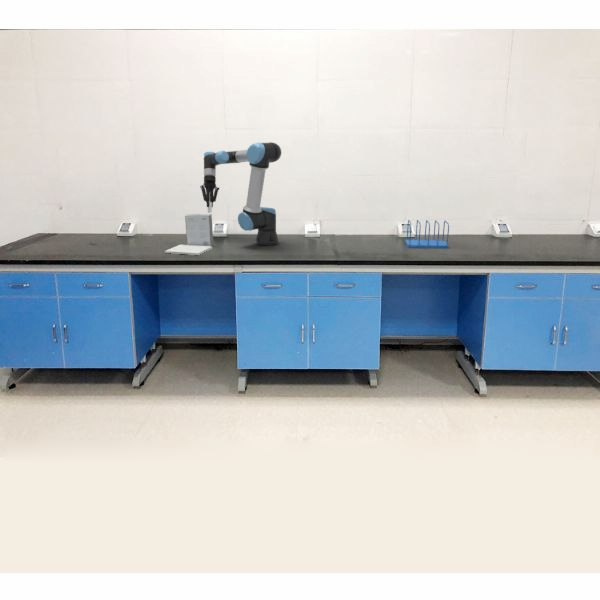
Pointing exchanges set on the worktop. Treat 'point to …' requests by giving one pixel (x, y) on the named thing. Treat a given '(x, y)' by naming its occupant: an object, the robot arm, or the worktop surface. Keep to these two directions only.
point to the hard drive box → (199, 229)
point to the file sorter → (428, 242)
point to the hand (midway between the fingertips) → (209, 212)
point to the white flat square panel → (189, 249)
